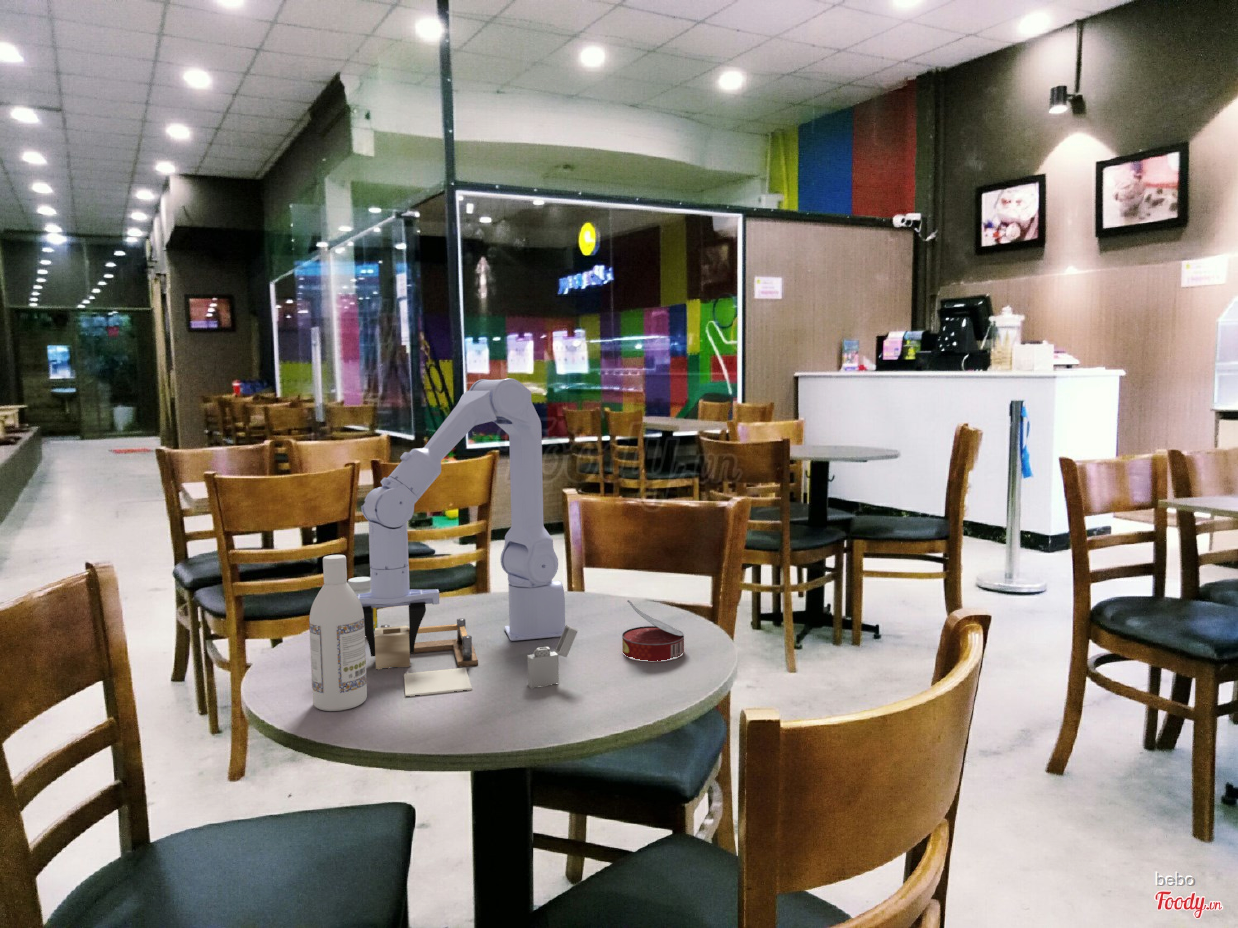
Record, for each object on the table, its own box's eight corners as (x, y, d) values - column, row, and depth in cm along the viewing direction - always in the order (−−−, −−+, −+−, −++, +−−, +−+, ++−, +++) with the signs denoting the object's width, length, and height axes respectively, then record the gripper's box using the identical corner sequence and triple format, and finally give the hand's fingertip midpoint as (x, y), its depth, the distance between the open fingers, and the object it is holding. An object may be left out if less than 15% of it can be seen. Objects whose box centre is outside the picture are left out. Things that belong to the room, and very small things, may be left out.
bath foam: (373, 693, 116) (368, 551, 114) (357, 712, 109) (351, 561, 107) (324, 693, 116) (318, 551, 114) (305, 712, 109) (298, 562, 107)
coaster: (465, 669, 125) (465, 667, 125) (471, 690, 117) (471, 687, 117) (403, 675, 123) (403, 673, 123) (405, 697, 114) (405, 694, 114)
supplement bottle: (340, 633, 145) (338, 578, 144) (370, 627, 148) (368, 574, 148) (352, 640, 141) (350, 584, 140) (383, 634, 144) (381, 579, 143)
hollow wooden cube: (409, 656, 132) (408, 625, 131) (410, 666, 127) (409, 634, 127) (376, 659, 131) (375, 628, 130) (375, 669, 126) (374, 637, 125)
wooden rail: (470, 642, 139) (469, 616, 138) (478, 665, 127) (477, 637, 127) (379, 650, 135) (378, 624, 135) (379, 675, 123) (378, 646, 123)
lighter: (531, 688, 117) (530, 632, 117) (527, 684, 119) (526, 629, 118) (578, 681, 120) (577, 626, 119) (574, 677, 122) (573, 623, 121)
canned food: (636, 671, 138) (642, 612, 141) (692, 674, 133) (697, 612, 137) (603, 657, 129) (612, 594, 132) (663, 660, 124) (669, 594, 128)
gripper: (436, 557, 133) (438, 640, 134) (340, 563, 129) (344, 649, 131) (439, 566, 126) (441, 654, 128) (338, 573, 123) (342, 663, 124)
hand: (392, 652), depth 129 cm, fingers closed on hollow wooden cube, 5 cm apart
